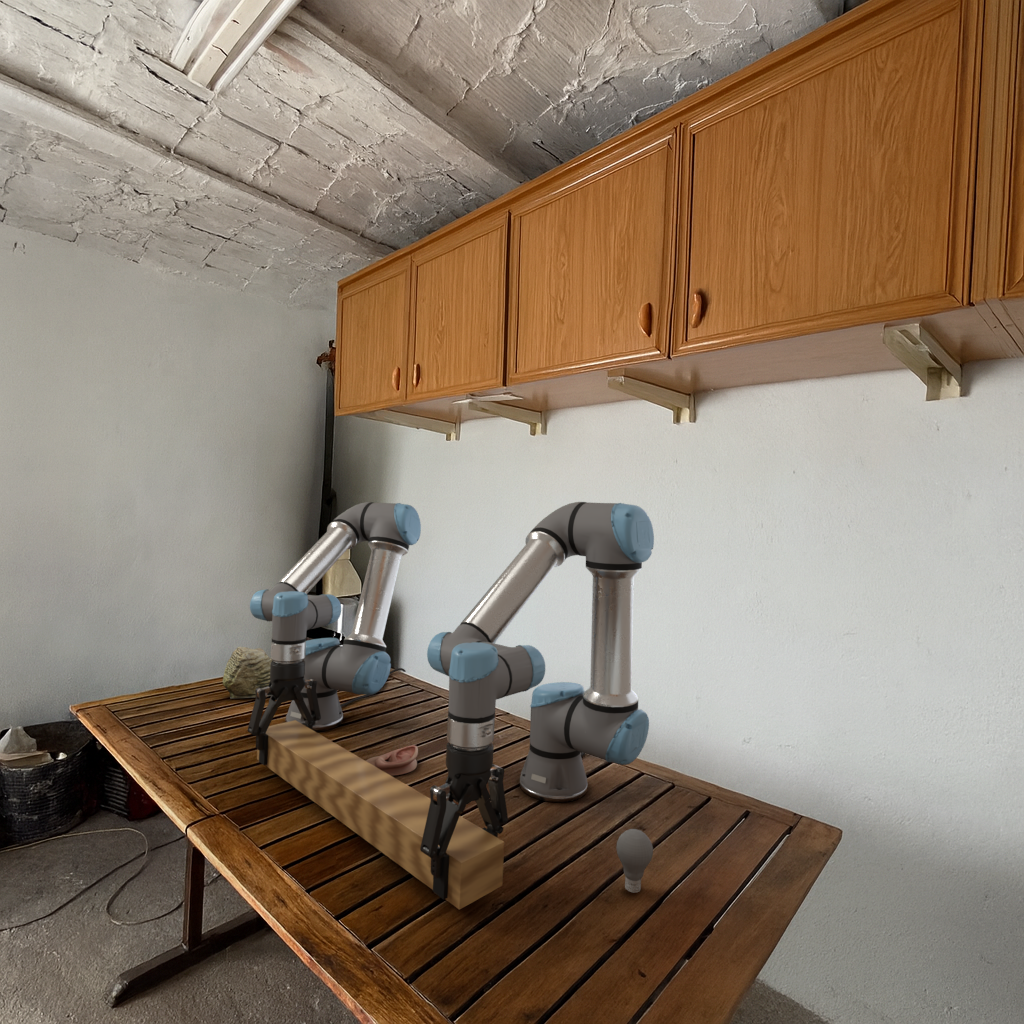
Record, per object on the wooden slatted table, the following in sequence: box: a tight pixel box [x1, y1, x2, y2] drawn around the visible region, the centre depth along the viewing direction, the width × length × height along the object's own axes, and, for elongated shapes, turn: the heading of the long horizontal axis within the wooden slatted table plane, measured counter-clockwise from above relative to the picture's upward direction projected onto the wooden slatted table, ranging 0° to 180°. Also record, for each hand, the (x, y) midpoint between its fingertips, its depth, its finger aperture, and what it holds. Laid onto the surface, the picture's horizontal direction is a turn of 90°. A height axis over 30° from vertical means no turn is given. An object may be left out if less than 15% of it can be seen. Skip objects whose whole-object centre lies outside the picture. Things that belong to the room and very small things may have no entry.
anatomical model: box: [365, 744, 419, 777], centre depth 149 cm, size 13×4×12 cm
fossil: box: [222, 646, 273, 699], centre depth 198 cm, size 9×18×15 cm, turn 132°
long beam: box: [256, 720, 505, 911], centre depth 123 cm, size 71×9×7 cm, turn 45°
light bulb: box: [615, 828, 654, 894], centre depth 106 cm, size 6×6×10 cm
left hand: (284, 757), depth 145 cm, fingers closed on long beam, 9 cm apart
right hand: (464, 881), depth 101 cm, fingers closed on long beam, 9 cm apart
